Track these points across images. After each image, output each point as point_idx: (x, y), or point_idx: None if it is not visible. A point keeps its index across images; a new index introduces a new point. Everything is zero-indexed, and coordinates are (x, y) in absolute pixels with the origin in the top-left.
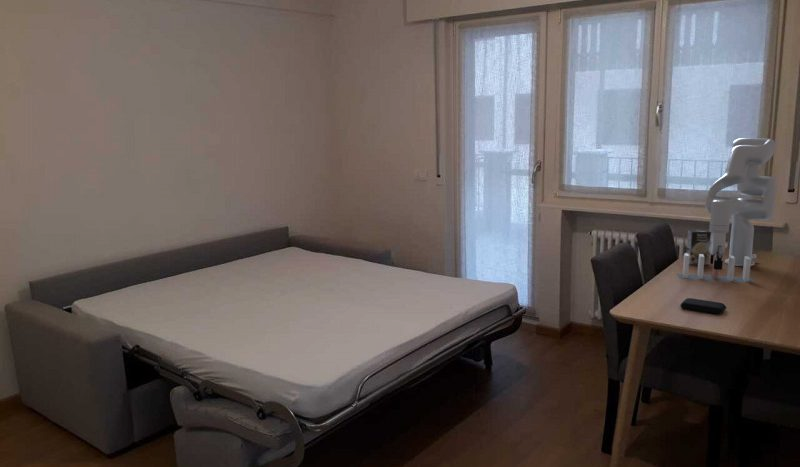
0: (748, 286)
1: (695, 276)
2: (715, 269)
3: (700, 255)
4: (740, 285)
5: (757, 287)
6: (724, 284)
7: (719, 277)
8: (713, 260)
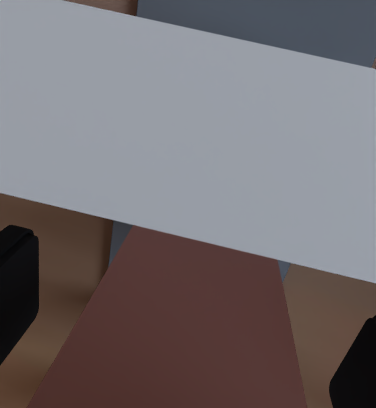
0: (23, 349)
1: (287, 27)
2: (117, 261)
3: (240, 80)
4: (36, 317)
5: (14, 381)
6: (34, 224)
7: None
8: (280, 378)
